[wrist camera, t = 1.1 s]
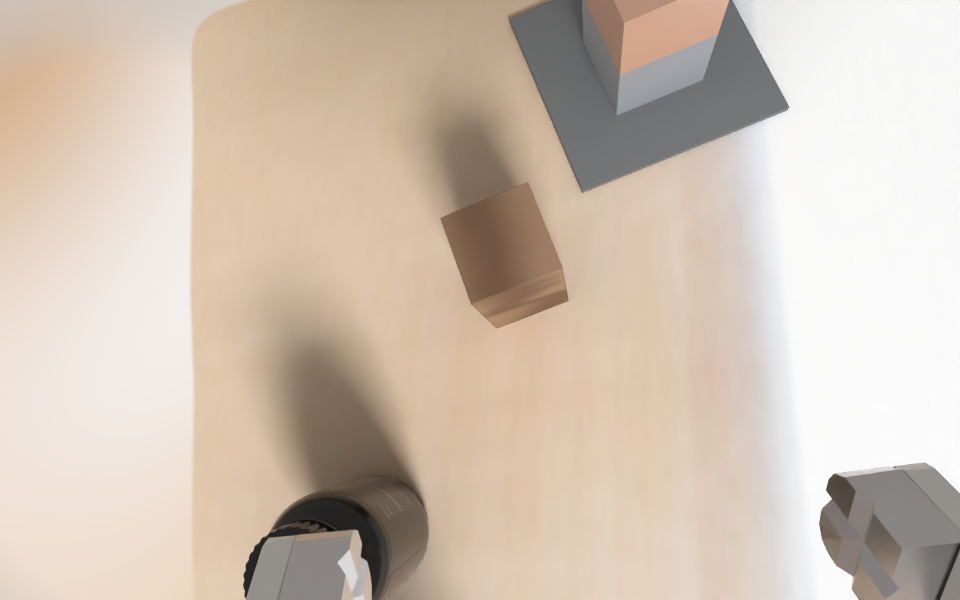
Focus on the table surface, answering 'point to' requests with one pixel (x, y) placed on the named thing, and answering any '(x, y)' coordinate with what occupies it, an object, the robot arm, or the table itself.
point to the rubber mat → (652, 126)
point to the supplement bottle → (361, 527)
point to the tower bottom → (644, 69)
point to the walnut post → (506, 257)
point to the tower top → (654, 27)
